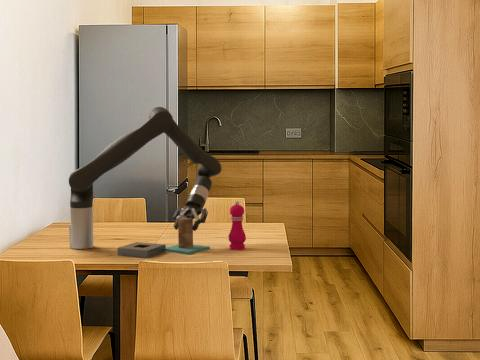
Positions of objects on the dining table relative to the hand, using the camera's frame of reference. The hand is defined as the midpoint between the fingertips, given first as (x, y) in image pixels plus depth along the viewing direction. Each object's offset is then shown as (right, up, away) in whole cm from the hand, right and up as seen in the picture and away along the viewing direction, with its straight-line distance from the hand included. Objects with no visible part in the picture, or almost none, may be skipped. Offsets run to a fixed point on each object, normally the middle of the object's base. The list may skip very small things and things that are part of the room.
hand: (184, 229), depth 316 cm
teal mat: (0, -9, +2) cm, 9 cm away
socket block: (-17, -10, -6) cm, 20 cm away
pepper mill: (+22, -9, +4) cm, 24 cm away
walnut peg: (0, -8, +2) cm, 8 cm away
